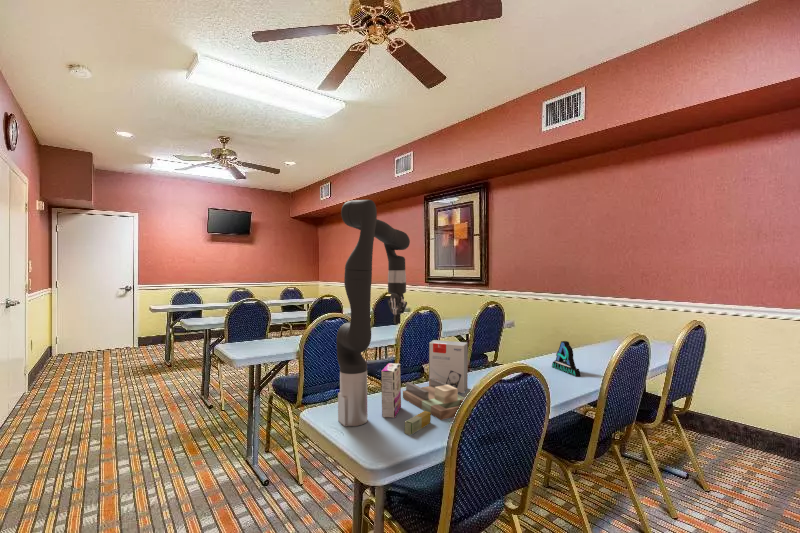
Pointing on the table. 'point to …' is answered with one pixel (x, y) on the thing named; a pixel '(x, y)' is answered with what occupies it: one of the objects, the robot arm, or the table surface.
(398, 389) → the candy bar box
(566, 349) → the decorative sign
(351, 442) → the table surface
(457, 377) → the hard drive box
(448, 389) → the ash block
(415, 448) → the table surface
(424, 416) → the medication box
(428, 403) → the corridor deck
